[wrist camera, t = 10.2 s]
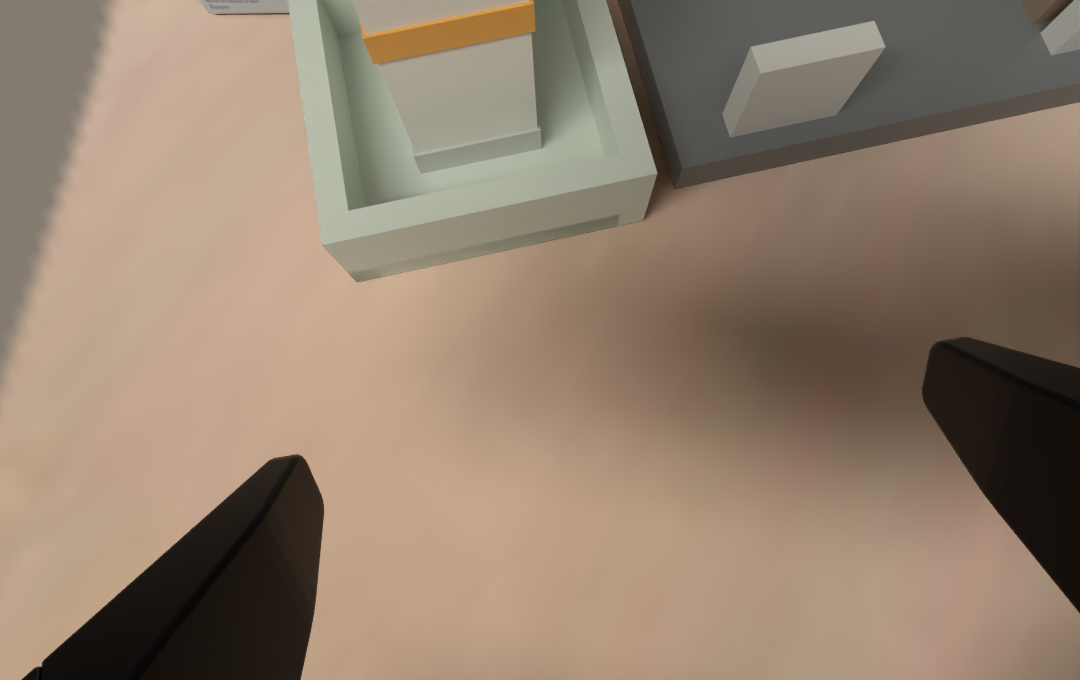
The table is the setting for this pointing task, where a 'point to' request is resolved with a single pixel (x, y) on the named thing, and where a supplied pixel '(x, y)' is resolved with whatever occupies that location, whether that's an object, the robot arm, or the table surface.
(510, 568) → the table surface
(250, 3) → the medicine box
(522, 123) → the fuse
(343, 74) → the tray
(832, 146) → the holder
